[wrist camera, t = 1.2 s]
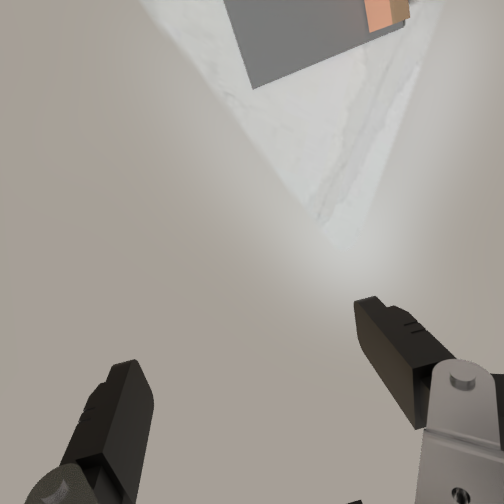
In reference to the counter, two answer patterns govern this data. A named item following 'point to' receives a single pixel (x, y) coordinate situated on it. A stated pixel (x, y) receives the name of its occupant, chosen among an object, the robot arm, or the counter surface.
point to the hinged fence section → (385, 13)
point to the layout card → (296, 33)
